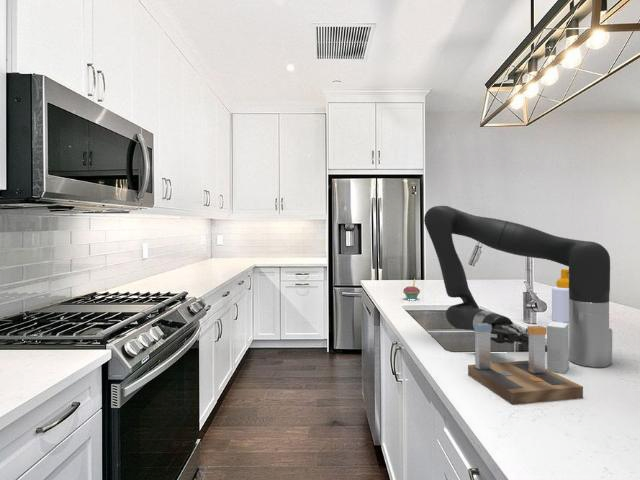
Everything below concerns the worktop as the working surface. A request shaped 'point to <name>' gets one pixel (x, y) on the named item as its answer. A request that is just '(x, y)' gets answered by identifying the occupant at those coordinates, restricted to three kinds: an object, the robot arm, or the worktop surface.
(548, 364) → the skincare box
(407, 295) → the cupcake
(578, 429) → the worktop surface
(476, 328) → the lever blue
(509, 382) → the switch base
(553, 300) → the soap bottle
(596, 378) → the worktop surface
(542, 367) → the lever orange
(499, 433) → the worktop surface
